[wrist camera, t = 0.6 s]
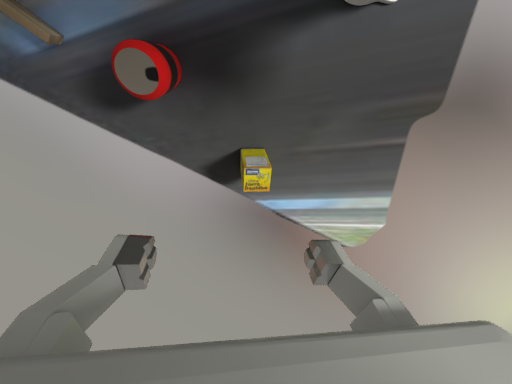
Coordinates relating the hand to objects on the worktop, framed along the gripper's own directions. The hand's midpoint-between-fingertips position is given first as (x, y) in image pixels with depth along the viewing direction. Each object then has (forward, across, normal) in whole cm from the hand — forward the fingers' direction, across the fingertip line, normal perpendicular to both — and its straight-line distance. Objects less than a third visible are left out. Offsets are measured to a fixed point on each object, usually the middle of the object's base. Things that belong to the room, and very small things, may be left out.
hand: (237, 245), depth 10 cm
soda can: (+39, +13, -4) cm, 42 cm away
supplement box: (+39, -7, +12) cm, 42 cm away
